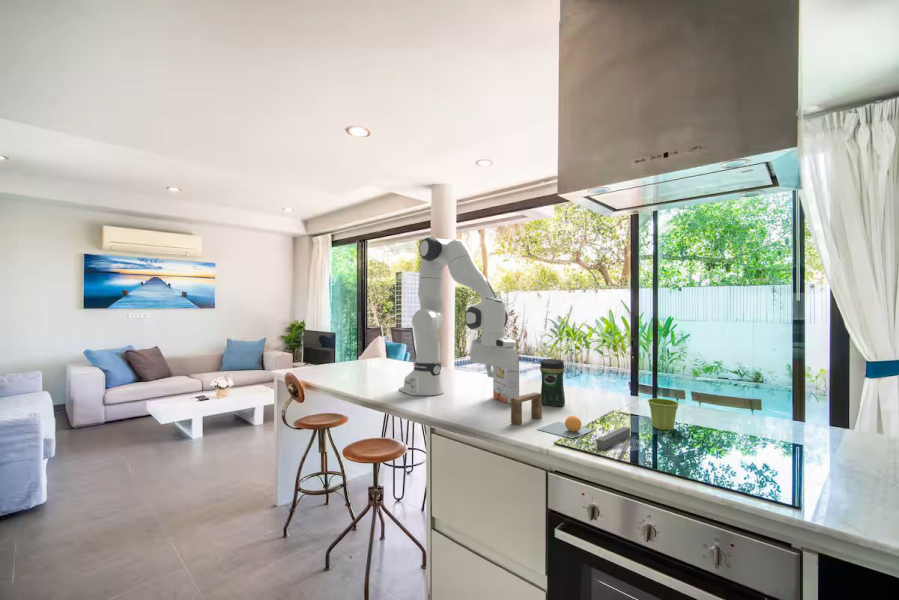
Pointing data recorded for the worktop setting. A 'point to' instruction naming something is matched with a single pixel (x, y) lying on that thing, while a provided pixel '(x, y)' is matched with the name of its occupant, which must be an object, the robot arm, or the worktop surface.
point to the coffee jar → (552, 382)
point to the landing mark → (563, 430)
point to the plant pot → (663, 413)
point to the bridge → (517, 407)
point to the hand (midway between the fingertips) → (491, 377)
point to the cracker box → (506, 383)
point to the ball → (573, 423)
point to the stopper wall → (613, 438)
